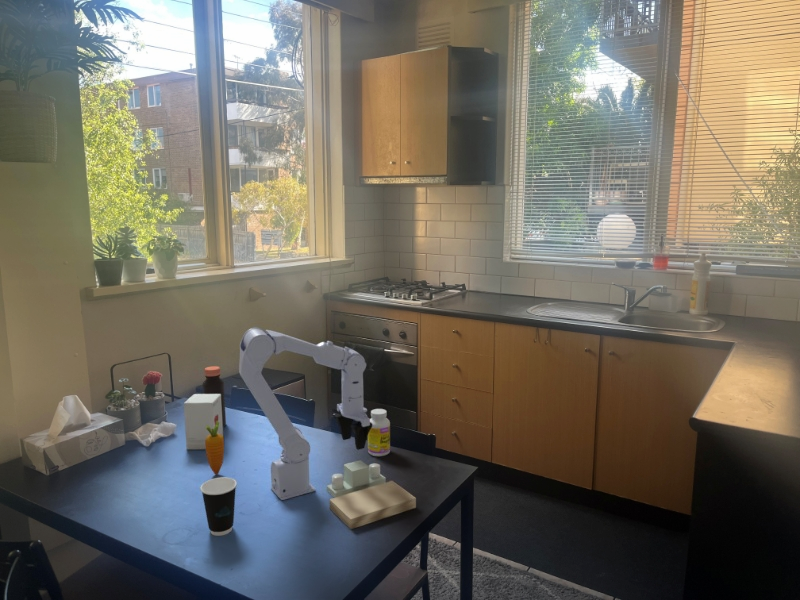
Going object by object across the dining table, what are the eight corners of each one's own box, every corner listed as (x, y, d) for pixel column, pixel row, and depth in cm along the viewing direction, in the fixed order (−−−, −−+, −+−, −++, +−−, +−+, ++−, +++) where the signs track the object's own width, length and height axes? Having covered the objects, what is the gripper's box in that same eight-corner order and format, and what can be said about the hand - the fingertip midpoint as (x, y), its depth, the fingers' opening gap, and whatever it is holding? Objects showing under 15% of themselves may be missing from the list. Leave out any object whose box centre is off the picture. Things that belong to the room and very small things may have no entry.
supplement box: (215, 450, 180) (212, 402, 178) (185, 450, 180) (182, 402, 178) (224, 438, 189) (221, 393, 187) (196, 438, 189) (193, 393, 187)
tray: (335, 498, 151) (334, 476, 150) (326, 490, 155) (326, 469, 154) (385, 483, 158) (385, 462, 157) (376, 476, 162) (376, 455, 161)
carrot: (208, 480, 161) (205, 427, 158) (205, 472, 165) (202, 421, 163) (227, 476, 163) (224, 424, 161) (224, 469, 167) (221, 418, 165)
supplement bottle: (380, 459, 173) (380, 417, 171) (363, 453, 177) (362, 412, 175) (394, 451, 179) (394, 410, 176) (377, 446, 182) (377, 406, 180)
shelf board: (350, 529, 136) (350, 519, 136) (329, 508, 145) (329, 499, 145) (415, 507, 146) (415, 498, 145) (392, 489, 155) (392, 480, 154)
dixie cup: (224, 542, 131) (221, 496, 129) (195, 535, 134) (192, 489, 132) (246, 524, 138) (244, 480, 137) (218, 518, 141) (215, 474, 139)
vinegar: (201, 428, 197) (197, 370, 194) (211, 421, 204) (207, 364, 201) (220, 429, 196) (217, 371, 193) (229, 422, 203) (226, 365, 200)
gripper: (379, 399, 154) (380, 449, 156) (352, 385, 166) (353, 431, 168) (355, 404, 150) (356, 455, 152) (329, 390, 162) (330, 437, 164)
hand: (353, 443), depth 160 cm, fingers open, 7 cm apart
